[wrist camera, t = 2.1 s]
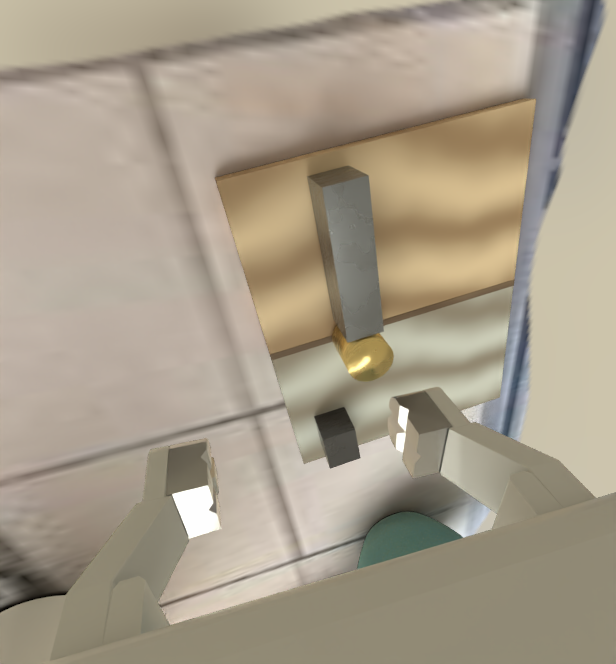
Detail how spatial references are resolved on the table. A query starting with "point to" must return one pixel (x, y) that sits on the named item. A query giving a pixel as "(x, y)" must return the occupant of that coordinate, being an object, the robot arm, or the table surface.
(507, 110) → the door board
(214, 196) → the table surface
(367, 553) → the plant pot
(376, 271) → the latch bar
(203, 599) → the table surface
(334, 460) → the block
